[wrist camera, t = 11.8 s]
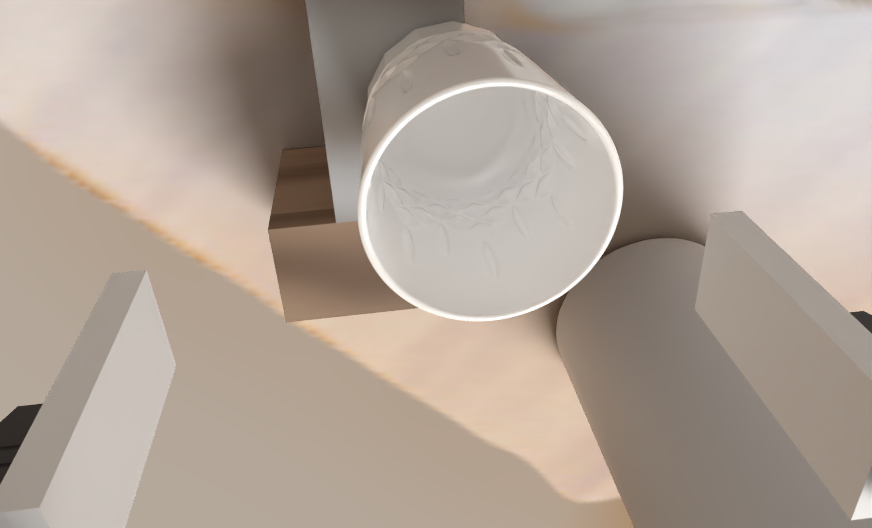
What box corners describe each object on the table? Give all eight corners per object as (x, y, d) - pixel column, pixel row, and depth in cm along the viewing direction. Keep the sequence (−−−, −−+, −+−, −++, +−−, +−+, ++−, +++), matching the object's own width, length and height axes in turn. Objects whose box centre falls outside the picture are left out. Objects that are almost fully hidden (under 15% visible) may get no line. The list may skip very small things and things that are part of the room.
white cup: (482, 217, 32) (534, 352, 24) (320, 147, 30) (313, 270, 21) (577, 60, 29) (676, 151, 21) (405, -34, 26) (437, 25, 18)
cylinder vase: (514, 331, 48) (656, 727, 26) (652, 196, 44) (952, 534, 22) (635, 411, 53) (835, 797, 31) (768, 296, 49) (1103, 650, 27)
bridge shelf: (228, -166, 32) (189, -169, 24) (493, -182, 33) (544, -190, 24) (296, 229, 42) (286, 322, 34) (496, 209, 43) (533, 295, 35)
